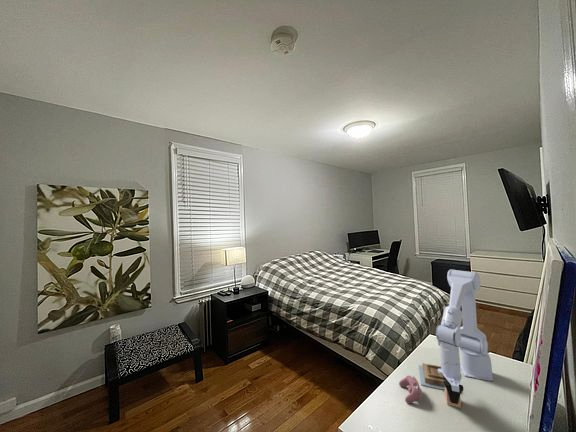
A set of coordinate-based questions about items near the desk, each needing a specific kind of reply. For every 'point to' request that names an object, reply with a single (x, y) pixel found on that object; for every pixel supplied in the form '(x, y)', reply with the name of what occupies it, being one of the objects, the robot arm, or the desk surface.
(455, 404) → the terracotta block
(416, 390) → the video game controller
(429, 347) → the desk surface
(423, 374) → the mat
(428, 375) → the walnut plinth
